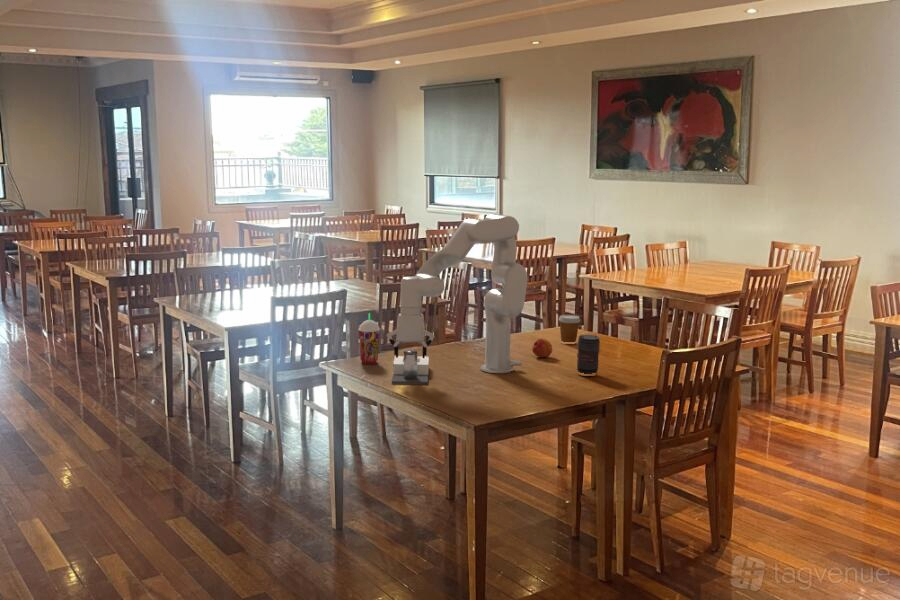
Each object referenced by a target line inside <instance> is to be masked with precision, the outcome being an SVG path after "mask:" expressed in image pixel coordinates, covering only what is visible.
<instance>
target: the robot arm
mask: <svg viewBox="0 0 900 600" xmlns="http://www.w3.org/2000/svg"><path fill="white" fill-rule="evenodd" d="M519 230H520V224H519V221H518V220H517V218H515V217H514V216H511V215H506V214H505V215H504V214H499V213H490V214H488V215H486V216H485V217H484V219H477V218H466V219H464V220H463V221H462V222H461V223H460V225H459V226H458V227H457V228H456V230H455V232H454V233H453V234H452V235H451V236H450V238H449V239H448V241H447V242H446V243H445V245H444V246H443V248H441V249H440V250H438V251H437V252H436V253H434V254H433V255H432V256H430V257H429V258H428V259H426V260H425V262H424V263H423V264H422V266H420V268H419V270H418V271H417V272H416V273H415V275H414V276H404V277H401V280H400V312H399V313H398V315H397V320H396V321H397V322H396V329H394V330H393V331H389V332H388V333H387V334H386V337H387V340H388V341H389V343H390V344H391V345H392V346H393V348H394V350H393V352H394V353H393V355H394V356H396V358H397V357H398V356H399V344H400V343H420V344H421V345H422V356H423V358H424V357H426V356H427V354H428V353H427V349H428V346H429V345H431V344H432V342H433V340H434V338H435V334H434V333H431V332H430V331H428V330H426V329H425V317H424V314H423V312H426V307H423V306H422V297H429V298H436V297H439V296H441V295H442V294H443V292H444V290H445V283H444V281H443V280H442V279H441V278H440V277H438V275H440V274H441V273H442V272H444V271H445V270H446V269H448V268H451V267H453V266H456V265H458V264H460V263H462V262H463V261H464V259H465V258H466V256H468V254H469V252H470V251H471V250H472V249H473V247H474V245H475V244H476V243H477V244H489V243H493V258H492V259H493V260H492V267H491V273H490V274H491V275H490V276H491V277H490V278H491V280H492V282H493V283H495V284H496V285H498V286H502V287H503V288H499V287H498V288H497V287H496V288H492V289H490V290H488V291H487V293H486V294H485V296H484V298H483V299H484V301H483V305H484V312H485V313H484V314H485V341H484V342H485V347H484V350H485V352H484V364H482V365H481V366H480V370H481V371H482V372H484V373H489V374H506V373H507V374H508V373H512V372H514V367H522V360H513V359H511V356H510V355H511V331H512V329H511V328H512V327H511V325H512V323H511V318H512V319H513V318H516V317H518V316H520V314H521V313H522V312H523V309H524V307H525V299H526V295H527V294H526V293H527V286H528V273H527V270H526V268H525V267H524V266H523V265H522V264H520V263H518V262H517V250H518V249H517V241H516V238H515V237H516V236H517V235H518V232H519ZM394 335H396V339H395V340H394V338H392V336H394ZM425 336H428V337H429V338H428V340H427V341H426V340H425ZM511 371H512V372H511Z"/></svg>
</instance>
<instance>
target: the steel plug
mask: <svg viewBox="0 0 900 600" xmlns="http://www.w3.org/2000/svg"><path fill="white" fill-rule="evenodd" d="M418 354H419V353H418V350H417V349H404V351H403V356H404V379H407V380H414V379H417V360H418Z"/></svg>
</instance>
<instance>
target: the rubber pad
mask: <svg viewBox="0 0 900 600" xmlns="http://www.w3.org/2000/svg"><path fill="white" fill-rule="evenodd" d="M391 384H392V385H428V384H429V374H428V375H417V379H414V380H407V379H404V374H393V373H392V378H391Z"/></svg>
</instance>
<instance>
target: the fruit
mask: <svg viewBox="0 0 900 600" xmlns="http://www.w3.org/2000/svg"><path fill="white" fill-rule="evenodd" d="M531 350H532V353H533V355H535V356H536V357H539V358H541V357H546V358H549V357H550V355H551V354H552V353H553V346H552V343H550V341H548V340H547V339H545V338H539V339H537V340H536V341H535V342H534V343H533V346H532V349H531Z"/></svg>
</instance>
